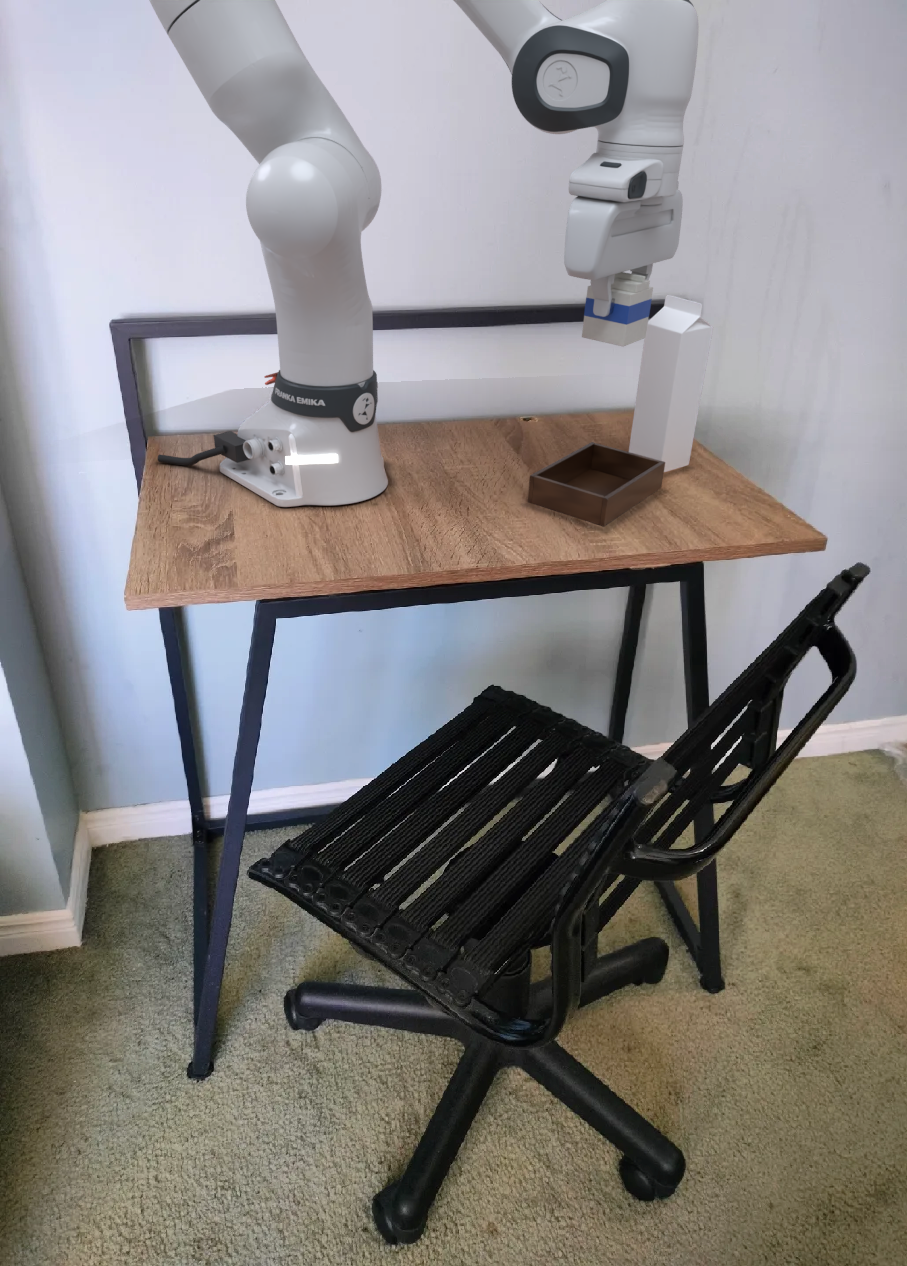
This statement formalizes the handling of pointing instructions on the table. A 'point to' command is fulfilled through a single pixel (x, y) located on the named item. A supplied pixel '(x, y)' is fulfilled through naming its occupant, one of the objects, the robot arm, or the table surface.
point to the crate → (596, 483)
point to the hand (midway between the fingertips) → (617, 310)
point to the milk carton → (620, 312)
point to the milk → (671, 383)
